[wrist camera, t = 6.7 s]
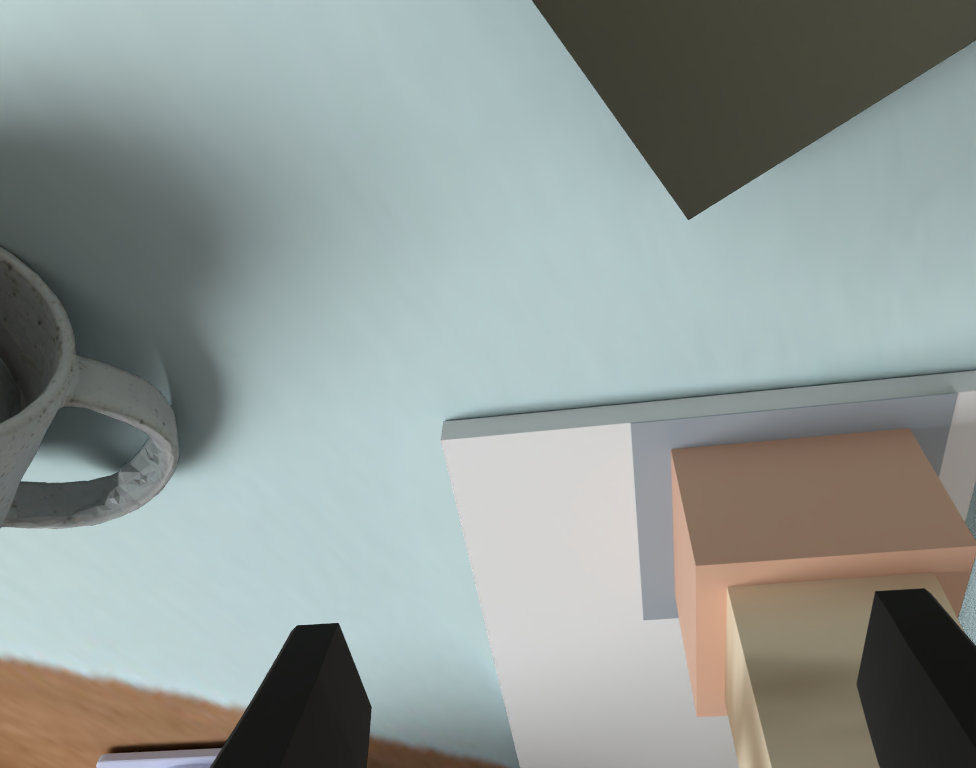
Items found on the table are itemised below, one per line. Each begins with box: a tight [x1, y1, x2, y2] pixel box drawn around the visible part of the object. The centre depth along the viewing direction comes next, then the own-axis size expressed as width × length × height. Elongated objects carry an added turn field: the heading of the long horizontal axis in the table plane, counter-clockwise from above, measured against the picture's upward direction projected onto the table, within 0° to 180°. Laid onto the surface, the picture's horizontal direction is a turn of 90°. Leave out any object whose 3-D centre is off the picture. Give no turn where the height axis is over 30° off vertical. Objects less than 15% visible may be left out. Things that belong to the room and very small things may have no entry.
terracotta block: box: [671, 428, 976, 717], centre depth 22 cm, size 6×6×4 cm
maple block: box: [725, 572, 965, 768], centre depth 18 cm, size 4×4×4 cm
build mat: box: [441, 371, 976, 768], centre depth 27 cm, size 18×14×1 cm
